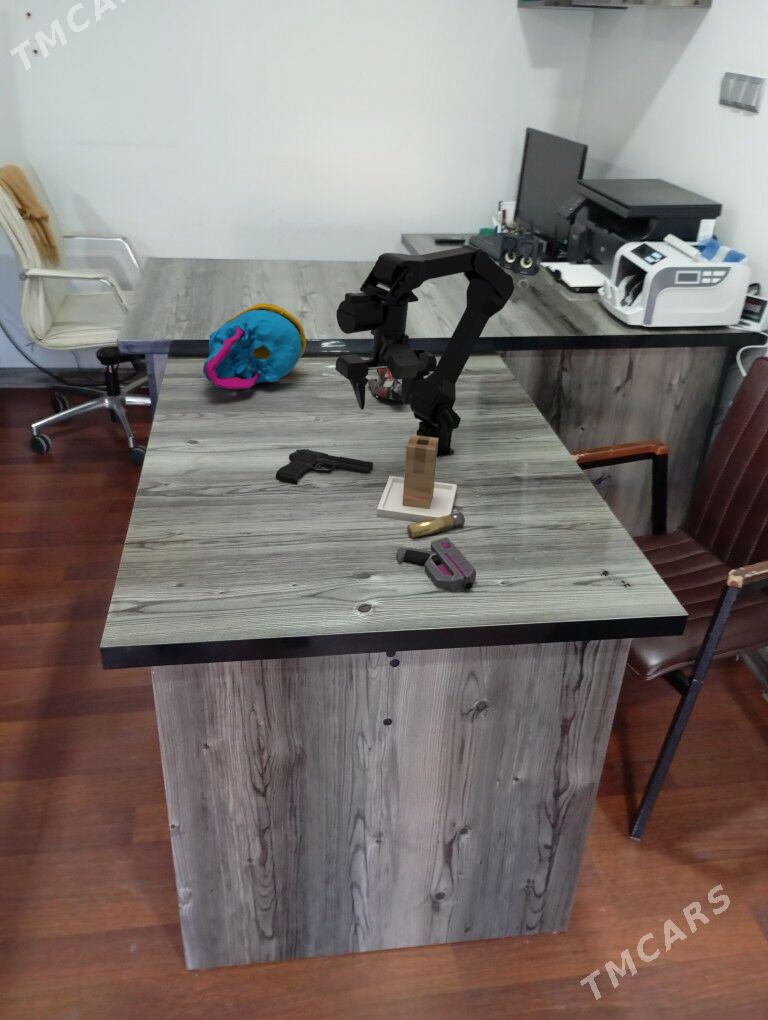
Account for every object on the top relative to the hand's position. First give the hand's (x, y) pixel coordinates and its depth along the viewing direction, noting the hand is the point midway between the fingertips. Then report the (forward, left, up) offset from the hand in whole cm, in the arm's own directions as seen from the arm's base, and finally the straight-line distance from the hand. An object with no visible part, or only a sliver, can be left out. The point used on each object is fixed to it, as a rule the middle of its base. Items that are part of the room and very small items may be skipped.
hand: (383, 406), depth 159 cm
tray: (0, +16, -13) cm, 20 cm away
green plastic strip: (-18, +49, -14) cm, 54 cm away
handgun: (+11, -2, -14) cm, 18 cm away
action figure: (-22, -35, -14) cm, 43 cm away
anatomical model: (+8, -49, -13) cm, 52 cm away
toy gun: (+8, +36, -14) cm, 39 cm away
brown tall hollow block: (0, +16, -13) cm, 20 cm away
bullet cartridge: (+2, +25, -13) cm, 28 cm away
